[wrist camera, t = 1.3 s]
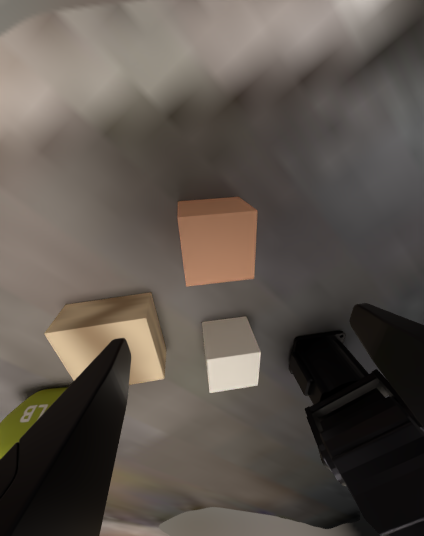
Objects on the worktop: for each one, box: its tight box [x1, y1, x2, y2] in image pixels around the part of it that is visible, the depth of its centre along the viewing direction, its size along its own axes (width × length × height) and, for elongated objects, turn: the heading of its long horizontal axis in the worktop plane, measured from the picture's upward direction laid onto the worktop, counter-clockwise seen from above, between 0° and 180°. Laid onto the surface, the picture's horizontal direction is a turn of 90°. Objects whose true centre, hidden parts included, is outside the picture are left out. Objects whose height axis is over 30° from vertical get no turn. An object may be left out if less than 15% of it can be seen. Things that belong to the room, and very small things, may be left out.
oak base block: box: [44, 292, 166, 385], centre depth 21 cm, size 8×8×4 cm
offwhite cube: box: [202, 316, 261, 393], centre depth 23 cm, size 5×5×5 cm
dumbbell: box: [0, 387, 68, 459], centre depth 26 cm, size 16×8×7 cm, turn 176°
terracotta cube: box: [177, 197, 258, 286], centre depth 17 cm, size 5×5×5 cm
